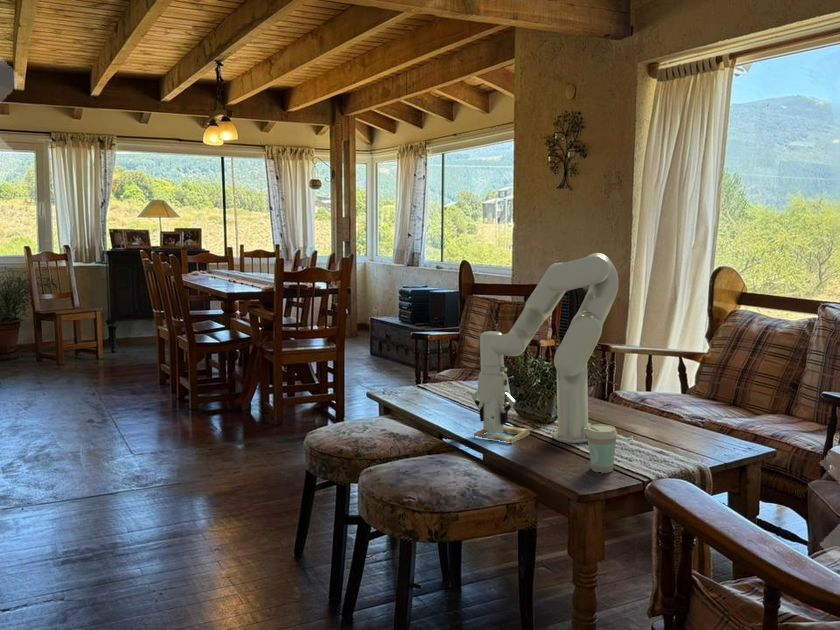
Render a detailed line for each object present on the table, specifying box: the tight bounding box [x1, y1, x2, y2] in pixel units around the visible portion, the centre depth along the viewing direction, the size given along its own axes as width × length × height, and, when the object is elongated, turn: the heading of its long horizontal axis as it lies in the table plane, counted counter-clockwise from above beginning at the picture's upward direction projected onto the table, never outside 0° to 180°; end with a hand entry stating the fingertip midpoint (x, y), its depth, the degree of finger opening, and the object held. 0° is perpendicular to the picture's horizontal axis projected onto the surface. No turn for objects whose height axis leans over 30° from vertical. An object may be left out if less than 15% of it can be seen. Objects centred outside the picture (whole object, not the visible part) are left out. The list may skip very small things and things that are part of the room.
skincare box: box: [482, 398, 504, 435], centre depth 238 cm, size 6×4×12 cm
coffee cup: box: [586, 423, 619, 474], centre depth 202 cm, size 8×8×12 cm
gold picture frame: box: [473, 425, 531, 443], centre depth 237 cm, size 14×12×2 cm
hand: (493, 421), depth 238 cm, fingers closed on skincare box, 7 cm apart
